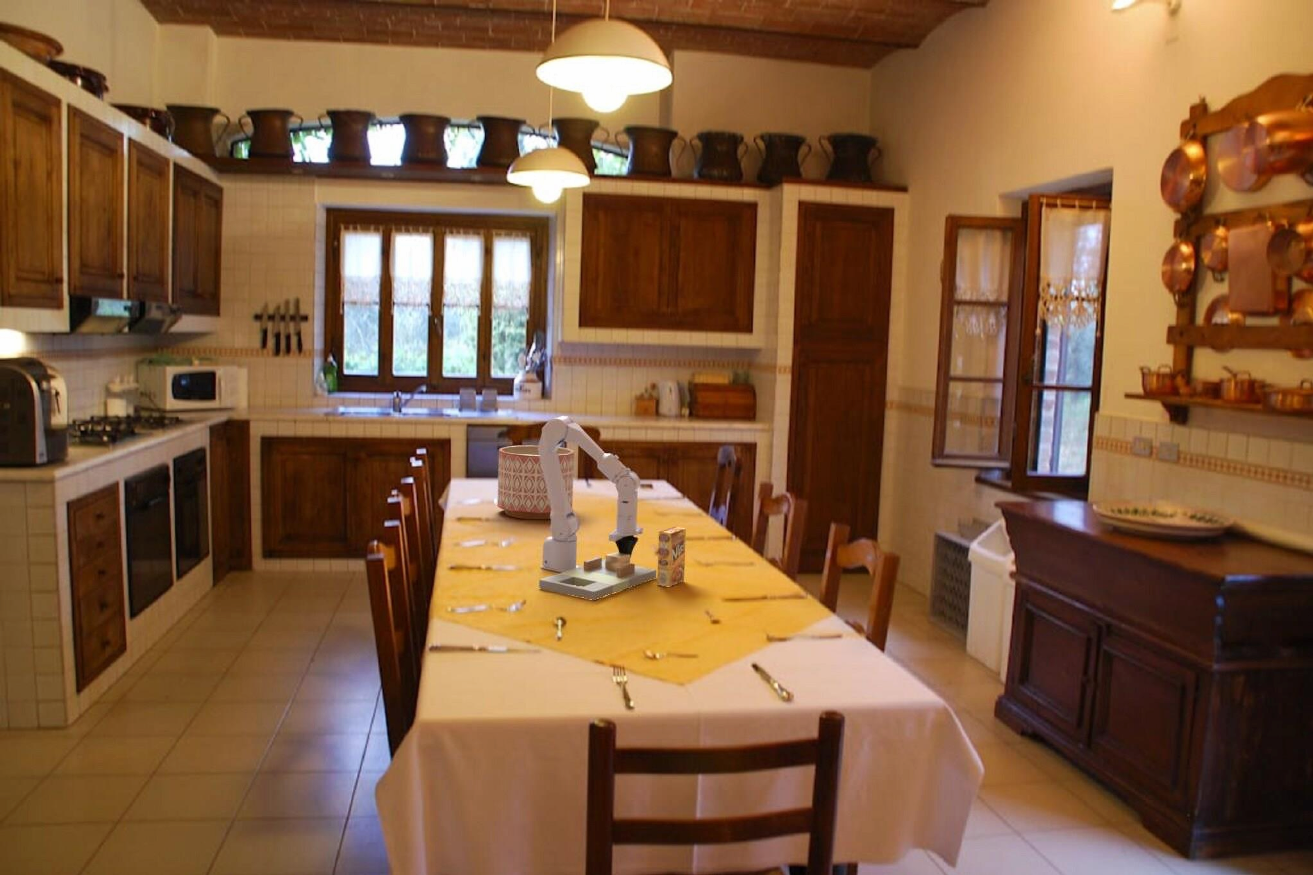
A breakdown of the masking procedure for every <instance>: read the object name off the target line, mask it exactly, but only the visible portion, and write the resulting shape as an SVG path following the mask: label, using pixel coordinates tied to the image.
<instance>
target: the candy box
mask: <svg viewBox="0 0 1313 875" xmlns="http://www.w3.org/2000/svg"><path fill="white" fill-rule="evenodd" d="M686 535H687V528H686V527H678V526H672V527H670V528H667V529H664V530H661V531H658V542H657V543H658V546H657V548H658V550H657V573H656V582H657V583H656V585H663V586H671V587H673V586H672V585H674V586H676V585H677V584H676V583H679V584H681V583H682V582H681V581H684V582H685V564H686V561H685V560H686V559H685V558H686V541H687V540H686ZM680 582H681V583H680ZM675 584H676V585H675ZM663 586H662V587H663Z"/></svg>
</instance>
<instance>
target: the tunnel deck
mask: <svg viewBox="0 0 1313 875" xmlns="http://www.w3.org/2000/svg"><path fill="white" fill-rule="evenodd" d="M654 578H656V579H657V569H654V568H648V567H643V566H638V565H636V564H635V563H631V562H630V564H628V565H625V566H622V567H619V568H617V571H612V570H607V569H605V559H603V558H602V557H600V556H597V557H593V558H591V559H588V560H584V561H583V566H581V567H579V568H576V569H572V570H569V571H566V572H563V573H562V572H558V573H556V574H553V575H550V576H547V577H544V578H541V579H539V585H538V587H539V588H541V589H540V590H542V589H544V590H543V591H547V590H550V591H549V592H551V591H552V593H555V592H558V593H557V594H560V593H562V594H561V595H564V594H569V595H574V596H578V597H584V598H587V599H592V600H595V599H597V598H600V597H603V596H605V595H608V594H612V593H614V592H618V591H620V590H623V591H625V590H624V589H626V588H629V587H631V586H634V585H637V586H639V585H638V584H640V583H642V584H644V583H643V582H645V581H648V580H650V579H653V580H655V579H654ZM648 582H649V581H648ZM645 583H646V582H645ZM574 585H576V586H574ZM640 585H641V584H640ZM579 586H583V587H579ZM634 587H635V586H634ZM539 588H538V589H539ZM631 588H632V587H631ZM629 589H630V588H629ZM626 590H627V589H626ZM620 592H621V591H620ZM618 593H619V592H618ZM569 595H568V596H569ZM612 595H613V594H612Z"/></svg>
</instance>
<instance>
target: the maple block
mask: <svg viewBox="0 0 1313 875" xmlns="http://www.w3.org/2000/svg"><path fill="white" fill-rule="evenodd" d="M604 560H605V569H607V570H612V571H617V568H619V567H622V566H625V565H628V564H631V558H630V555H628V554H623V553H619V551H618V552H616V551H615V552H614V551H613V552H612V553H608V554H606V555H605V558H604Z"/></svg>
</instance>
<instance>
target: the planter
mask: <svg viewBox="0 0 1313 875" xmlns="http://www.w3.org/2000/svg"><path fill="white" fill-rule="evenodd" d="M557 454H558V459H559V463H560V467H561V471H562V476H563V480H564V484H565V488H566V493H567V497H568V501H569V504H570V505H571V507H572V508H573V497H574V496H573V495H574V490H573V489H574V464H575V459H574V458H575V451H574V450H572V449H571V448H567V447H561V446H560V447H559V448H558V450H557ZM497 472H498V475H497V481H498V482H497V507H498V508H499V509H501V510H504V513H505V515H506V516H508V515H509V517H511V518H516V519H522V520H523V519H524V520H549V519H550V514H551V509H552V508H551V504H550V500H549V495H548V491H547V487H546V483H545V478H544V474H543V470H542V466H541V461H540V457H539V453H538V445H530V444H529V445H511V446H505V447H500V448H499V449H498V470H497ZM550 520H551V519H550Z"/></svg>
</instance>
